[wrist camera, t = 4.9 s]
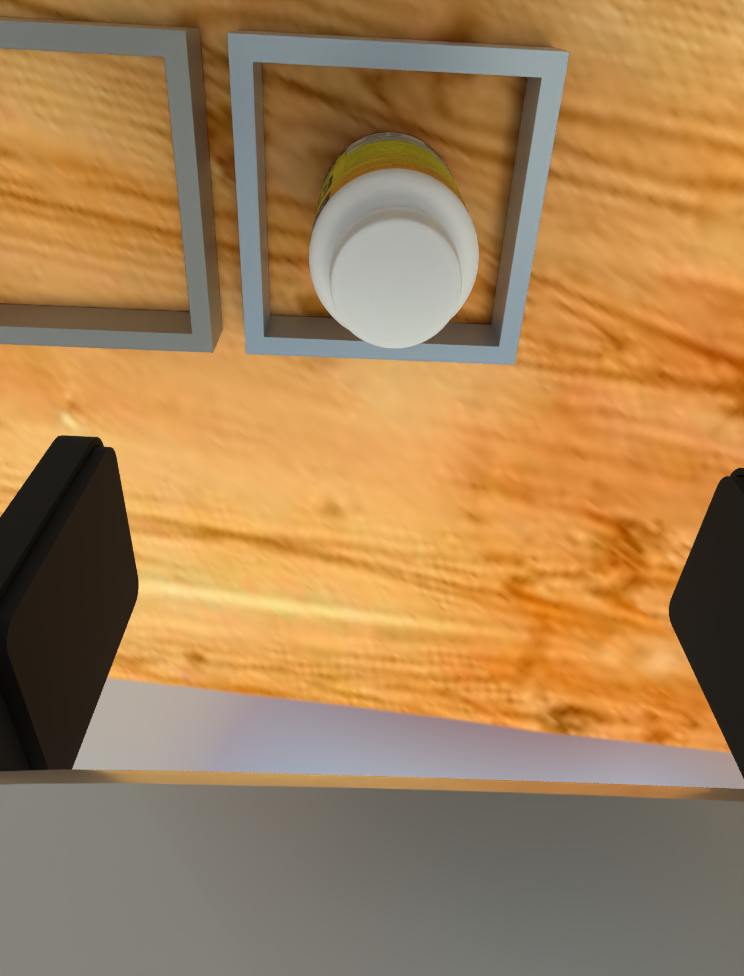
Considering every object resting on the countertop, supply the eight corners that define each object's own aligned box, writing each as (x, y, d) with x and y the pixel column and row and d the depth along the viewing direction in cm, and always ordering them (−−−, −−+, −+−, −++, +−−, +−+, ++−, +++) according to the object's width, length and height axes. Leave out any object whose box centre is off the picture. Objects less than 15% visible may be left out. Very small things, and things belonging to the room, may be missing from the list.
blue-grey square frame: (238, 30, 26) (227, 33, 24) (553, 47, 26) (569, 51, 24) (253, 331, 33) (245, 353, 30) (505, 341, 33) (514, 364, 31)
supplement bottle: (315, 132, 28) (293, 190, 19) (457, 126, 28) (497, 182, 19) (325, 273, 31) (310, 376, 23) (452, 268, 31) (485, 370, 23)
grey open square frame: (-127, 9, 26) (-170, 10, 23) (199, 27, 26) (185, 30, 24) (-36, 319, 32) (-64, 341, 30) (222, 330, 32) (212, 352, 30)
